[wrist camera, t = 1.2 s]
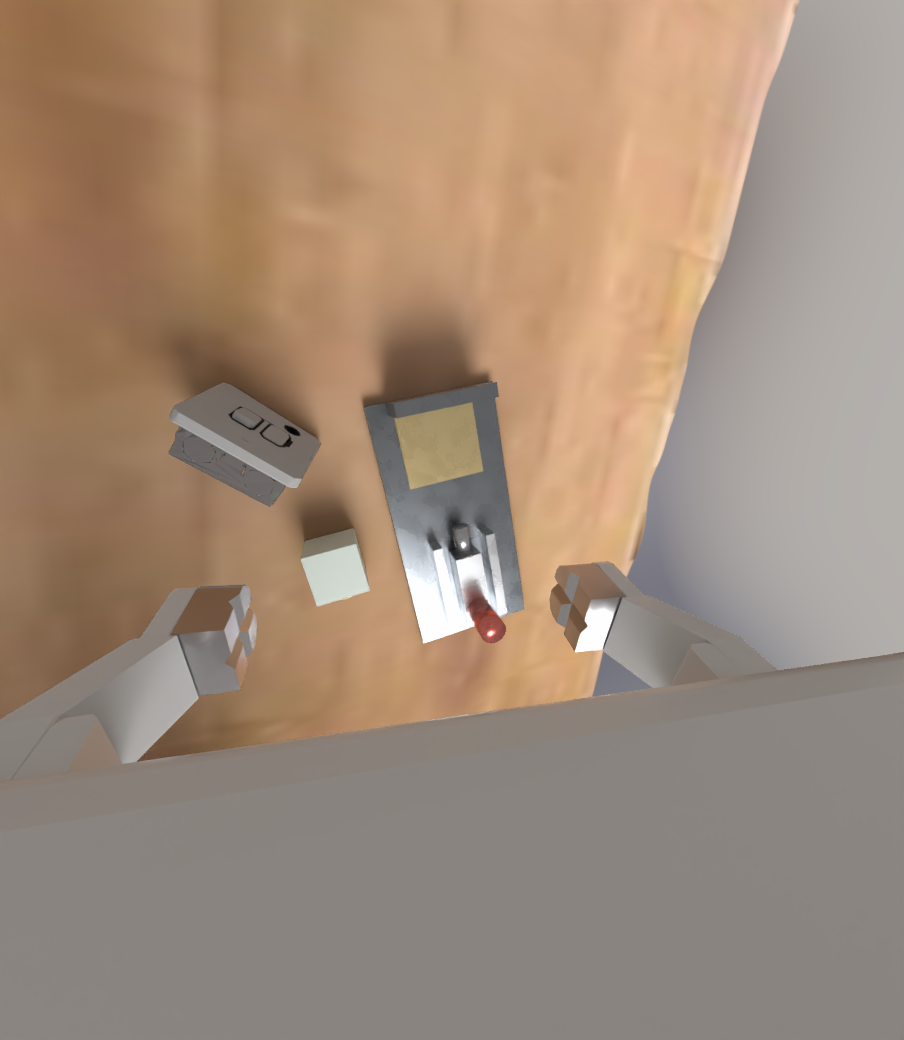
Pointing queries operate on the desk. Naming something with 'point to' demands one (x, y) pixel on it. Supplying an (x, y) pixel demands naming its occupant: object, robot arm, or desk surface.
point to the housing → (334, 567)
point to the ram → (473, 586)
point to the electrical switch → (241, 442)
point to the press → (447, 498)
